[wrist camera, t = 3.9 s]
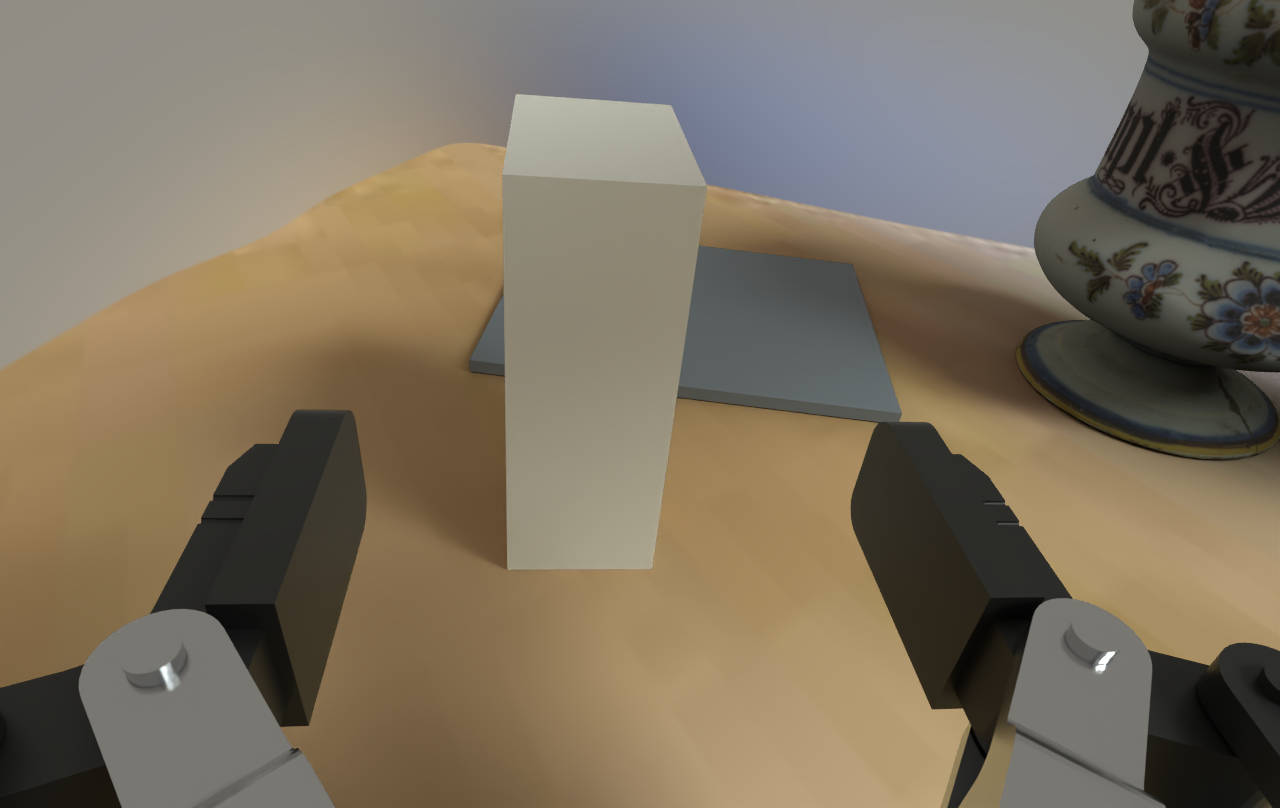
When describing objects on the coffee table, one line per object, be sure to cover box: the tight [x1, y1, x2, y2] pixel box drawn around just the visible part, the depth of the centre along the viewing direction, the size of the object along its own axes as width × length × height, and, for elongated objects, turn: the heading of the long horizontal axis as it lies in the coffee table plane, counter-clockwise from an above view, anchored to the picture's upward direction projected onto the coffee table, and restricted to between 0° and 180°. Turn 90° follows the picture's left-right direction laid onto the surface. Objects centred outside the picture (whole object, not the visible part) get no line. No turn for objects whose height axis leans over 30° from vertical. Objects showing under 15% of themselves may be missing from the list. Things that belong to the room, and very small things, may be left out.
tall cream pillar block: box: [502, 94, 707, 570], centre depth 21 cm, size 4×6×11 cm, turn 5°
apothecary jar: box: [1016, 0, 1280, 460], centre depth 27 cm, size 12×12×18 cm
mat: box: [469, 246, 902, 422], centre depth 34 cm, size 16×13×1 cm
